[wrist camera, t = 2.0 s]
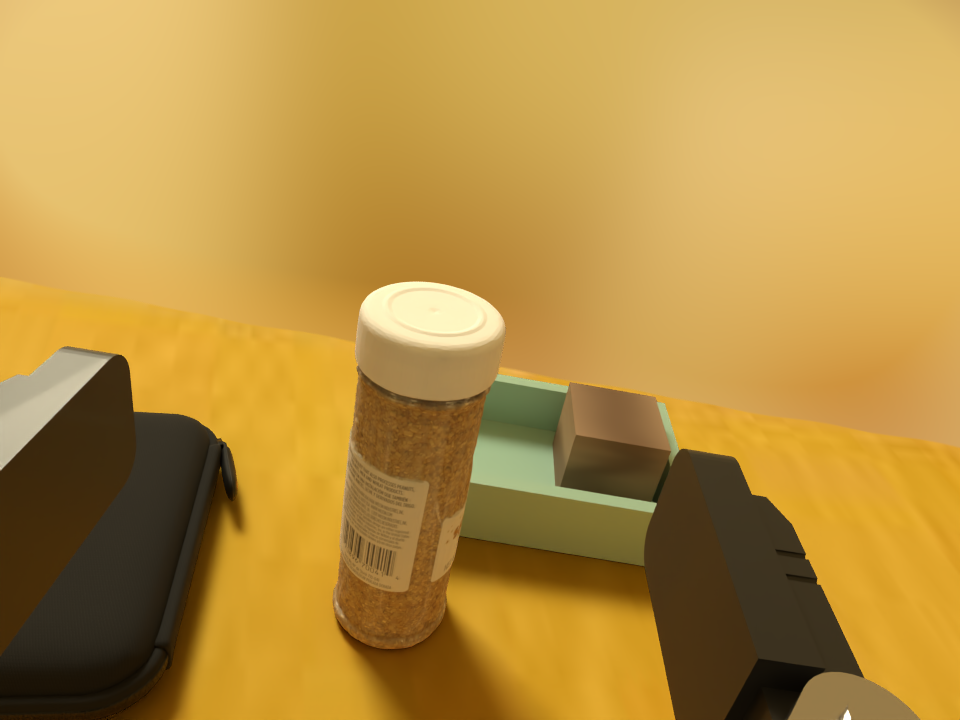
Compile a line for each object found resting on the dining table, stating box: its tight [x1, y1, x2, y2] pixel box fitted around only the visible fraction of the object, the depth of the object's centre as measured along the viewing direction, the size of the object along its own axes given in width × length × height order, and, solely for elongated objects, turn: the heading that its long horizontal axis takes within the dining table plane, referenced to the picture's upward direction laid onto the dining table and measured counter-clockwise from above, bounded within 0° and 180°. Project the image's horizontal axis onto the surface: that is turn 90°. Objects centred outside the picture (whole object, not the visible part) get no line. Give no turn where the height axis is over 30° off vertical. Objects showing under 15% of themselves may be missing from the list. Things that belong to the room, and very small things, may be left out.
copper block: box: [552, 382, 671, 502], centre depth 36 cm, size 4×4×4 cm
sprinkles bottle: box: [333, 282, 506, 649], centre depth 25 cm, size 5×5×13 cm
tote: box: [459, 374, 679, 566], centre depth 36 cm, size 15×9×3 cm, turn 87°
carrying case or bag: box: [0, 412, 237, 720], centre depth 28 cm, size 11×3×15 cm
